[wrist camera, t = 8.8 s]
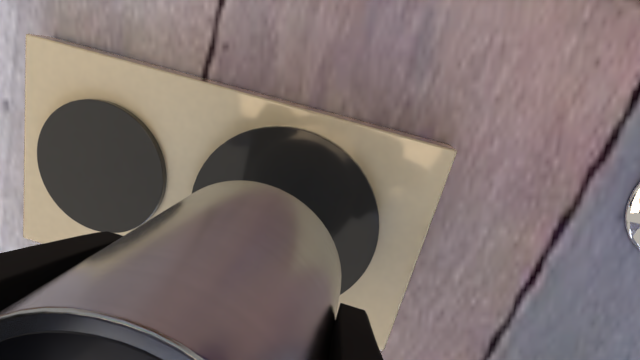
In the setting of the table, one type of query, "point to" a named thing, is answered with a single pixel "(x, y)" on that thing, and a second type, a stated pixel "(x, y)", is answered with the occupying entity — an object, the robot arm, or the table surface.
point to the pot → (192, 287)
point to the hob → (220, 162)
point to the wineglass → (633, 217)
